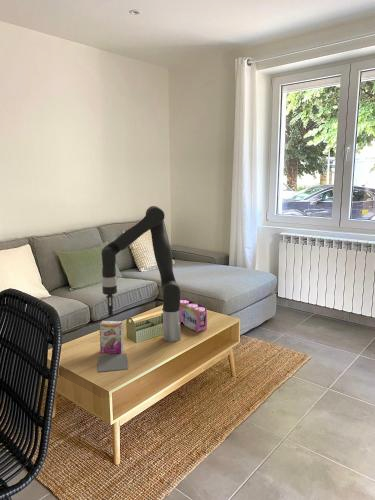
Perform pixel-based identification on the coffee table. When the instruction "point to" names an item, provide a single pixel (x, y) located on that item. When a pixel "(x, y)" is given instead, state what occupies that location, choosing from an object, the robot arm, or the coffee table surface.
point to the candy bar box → (111, 337)
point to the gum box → (193, 315)
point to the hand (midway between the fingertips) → (110, 315)
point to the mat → (112, 362)
